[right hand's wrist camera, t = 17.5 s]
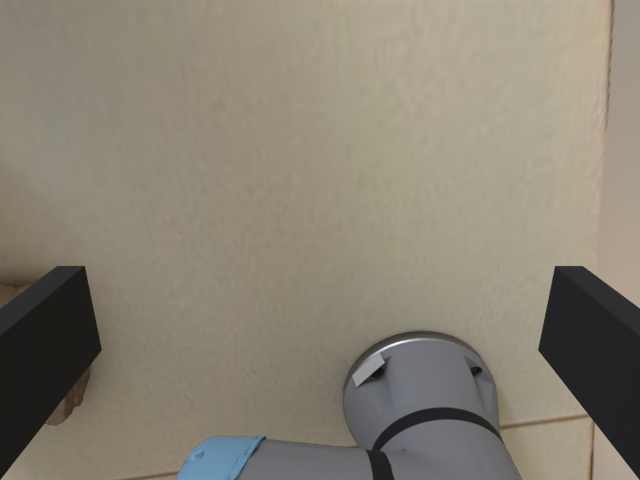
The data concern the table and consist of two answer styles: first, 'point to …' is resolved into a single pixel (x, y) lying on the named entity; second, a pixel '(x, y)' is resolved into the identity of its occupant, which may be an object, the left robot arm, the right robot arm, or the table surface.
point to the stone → (3, 295)
